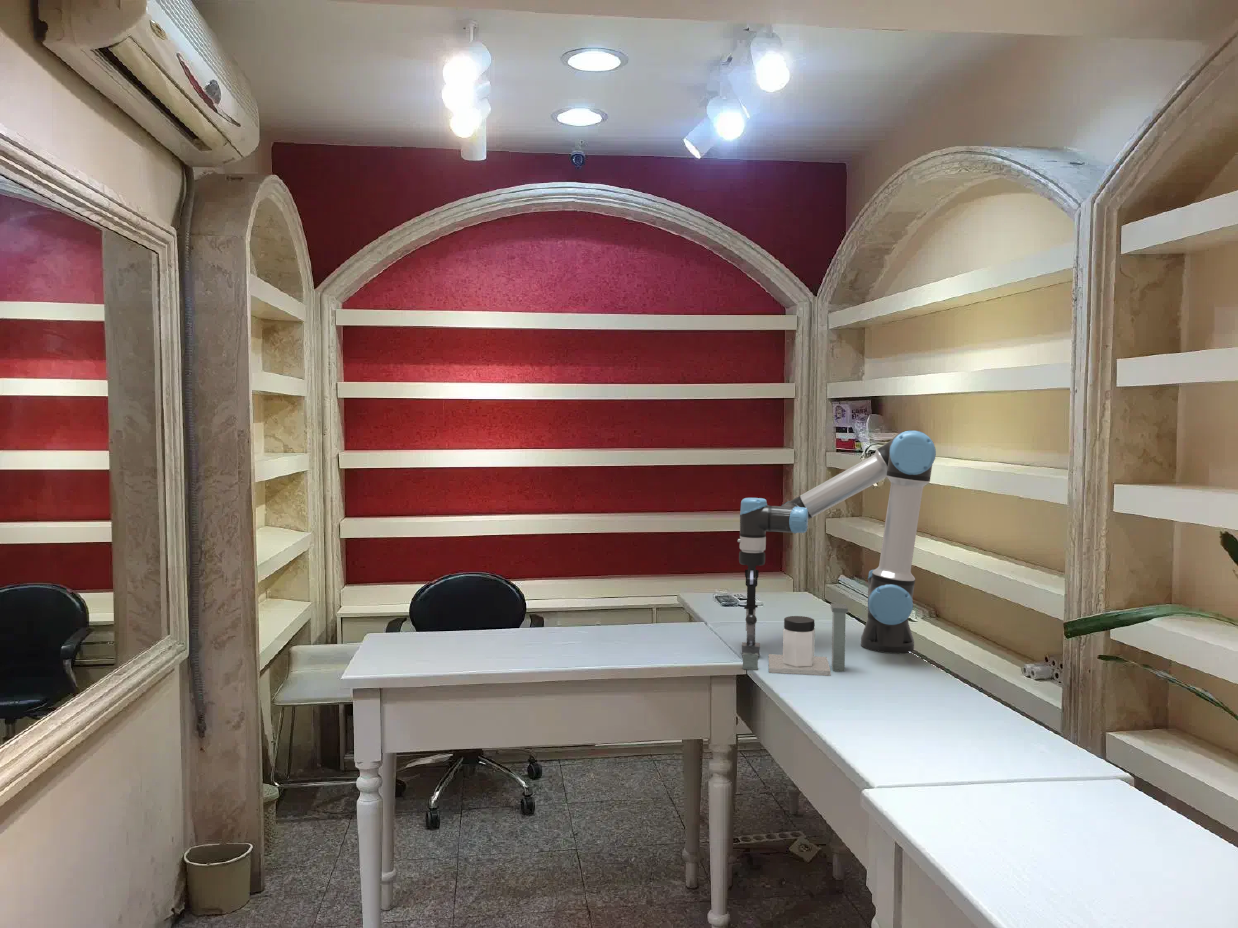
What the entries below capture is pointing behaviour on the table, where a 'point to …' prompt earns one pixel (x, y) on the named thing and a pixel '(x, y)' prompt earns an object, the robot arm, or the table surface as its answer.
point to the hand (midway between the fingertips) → (750, 630)
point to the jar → (798, 641)
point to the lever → (751, 636)
